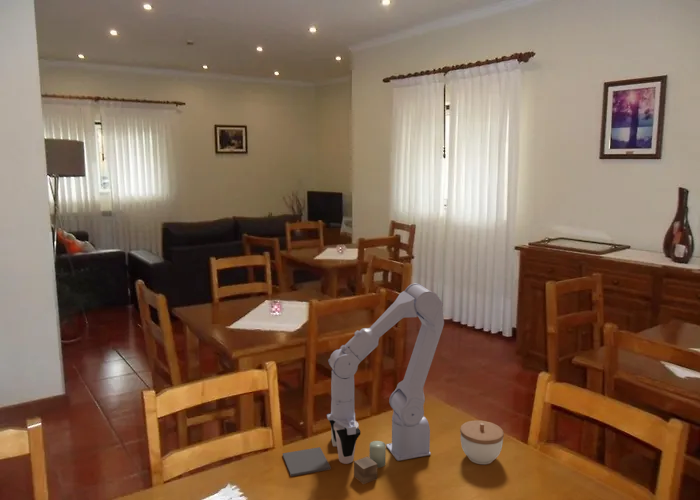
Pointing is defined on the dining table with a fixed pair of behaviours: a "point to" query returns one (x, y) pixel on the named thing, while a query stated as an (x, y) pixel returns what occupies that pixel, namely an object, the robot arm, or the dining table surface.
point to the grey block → (333, 439)
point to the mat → (306, 461)
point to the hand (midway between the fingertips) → (343, 447)
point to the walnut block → (365, 470)
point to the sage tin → (378, 453)
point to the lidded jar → (481, 441)
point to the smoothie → (339, 446)
